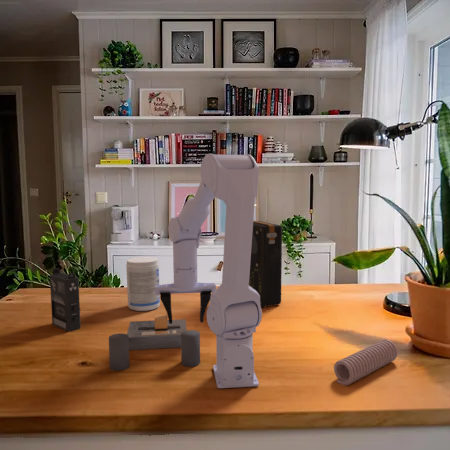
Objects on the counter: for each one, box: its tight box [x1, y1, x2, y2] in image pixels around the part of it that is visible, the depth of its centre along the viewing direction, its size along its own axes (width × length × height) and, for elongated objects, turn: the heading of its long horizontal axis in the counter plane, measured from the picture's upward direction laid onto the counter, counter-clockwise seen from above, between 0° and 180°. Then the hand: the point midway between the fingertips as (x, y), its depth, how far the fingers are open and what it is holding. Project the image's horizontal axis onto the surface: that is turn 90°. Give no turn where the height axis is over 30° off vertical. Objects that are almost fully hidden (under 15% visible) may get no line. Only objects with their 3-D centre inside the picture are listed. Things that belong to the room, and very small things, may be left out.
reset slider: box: [154, 313, 169, 329], centre depth 108 cm, size 3×3×2 cm
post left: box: [108, 333, 130, 372], centre depth 93 cm, size 4×4×6 cm
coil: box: [333, 339, 398, 387], centre depth 91 cm, size 5×5×18 cm
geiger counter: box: [49, 267, 82, 332], centre depth 117 cm, size 10×5×15 cm, turn 48°
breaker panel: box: [126, 318, 188, 351], centre depth 108 cm, size 11×14×3 cm
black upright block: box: [249, 220, 283, 309], centre depth 139 cm, size 16×9×25 cm, turn 25°
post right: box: [180, 329, 201, 368], centre depth 95 cm, size 4×4×6 cm
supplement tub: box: [125, 256, 161, 312], centre depth 133 cm, size 10×10×15 cm
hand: (186, 321), depth 109 cm, fingers open, 7 cm apart
